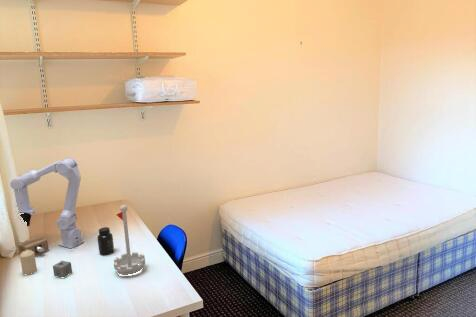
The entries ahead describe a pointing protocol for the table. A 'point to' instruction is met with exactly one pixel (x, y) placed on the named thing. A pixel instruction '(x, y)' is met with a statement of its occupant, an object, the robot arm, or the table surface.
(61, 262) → the dice cube
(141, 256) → the flag stand
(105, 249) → the supplement bottle
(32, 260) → the candle
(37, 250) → the pin
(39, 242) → the block
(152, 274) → the table surface
